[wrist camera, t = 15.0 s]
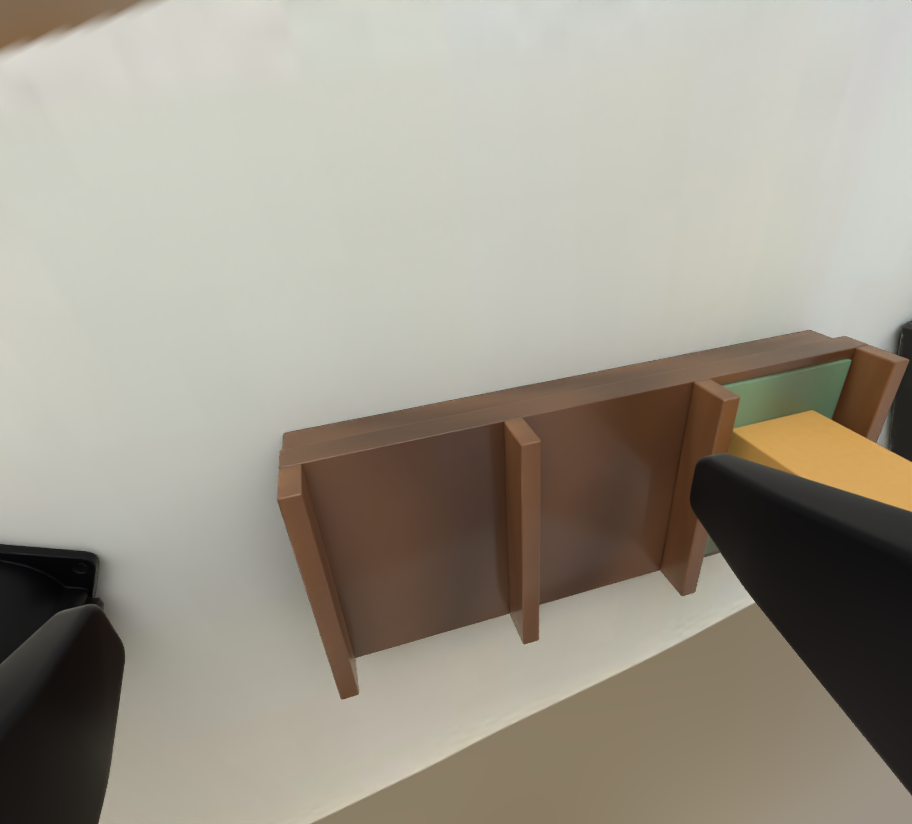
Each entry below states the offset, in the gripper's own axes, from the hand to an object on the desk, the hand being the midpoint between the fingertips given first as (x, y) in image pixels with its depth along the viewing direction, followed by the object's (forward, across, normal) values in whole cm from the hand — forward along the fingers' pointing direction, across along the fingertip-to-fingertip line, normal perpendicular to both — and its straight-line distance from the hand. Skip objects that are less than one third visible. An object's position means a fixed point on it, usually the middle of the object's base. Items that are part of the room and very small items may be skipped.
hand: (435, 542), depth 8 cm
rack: (+13, -9, +10) cm, 19 cm away
